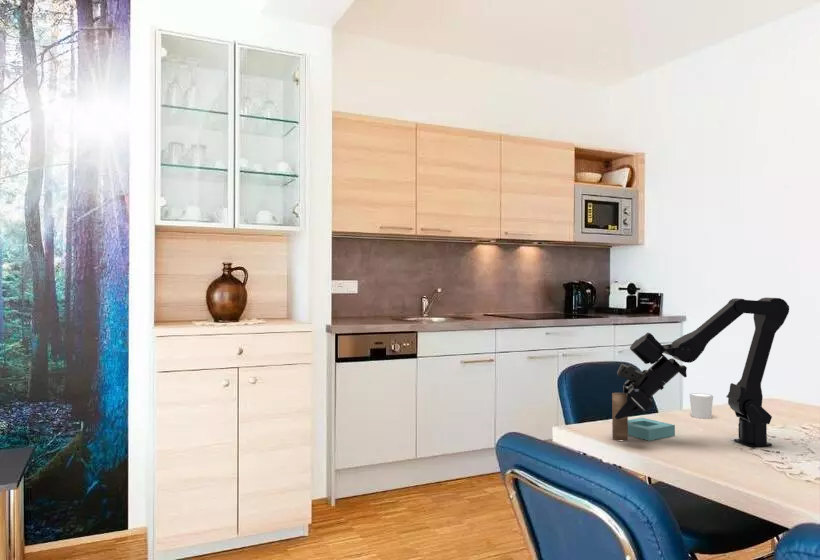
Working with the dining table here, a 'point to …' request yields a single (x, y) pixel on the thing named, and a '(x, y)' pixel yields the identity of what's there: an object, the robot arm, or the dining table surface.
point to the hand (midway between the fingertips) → (614, 414)
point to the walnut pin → (619, 424)
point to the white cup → (701, 405)
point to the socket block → (650, 429)
